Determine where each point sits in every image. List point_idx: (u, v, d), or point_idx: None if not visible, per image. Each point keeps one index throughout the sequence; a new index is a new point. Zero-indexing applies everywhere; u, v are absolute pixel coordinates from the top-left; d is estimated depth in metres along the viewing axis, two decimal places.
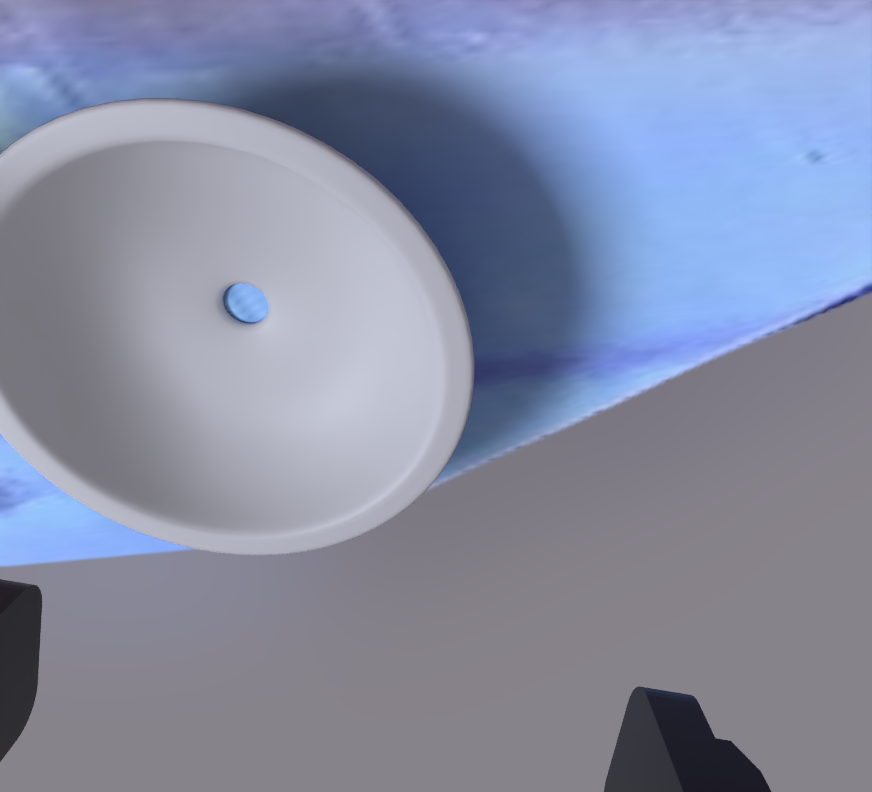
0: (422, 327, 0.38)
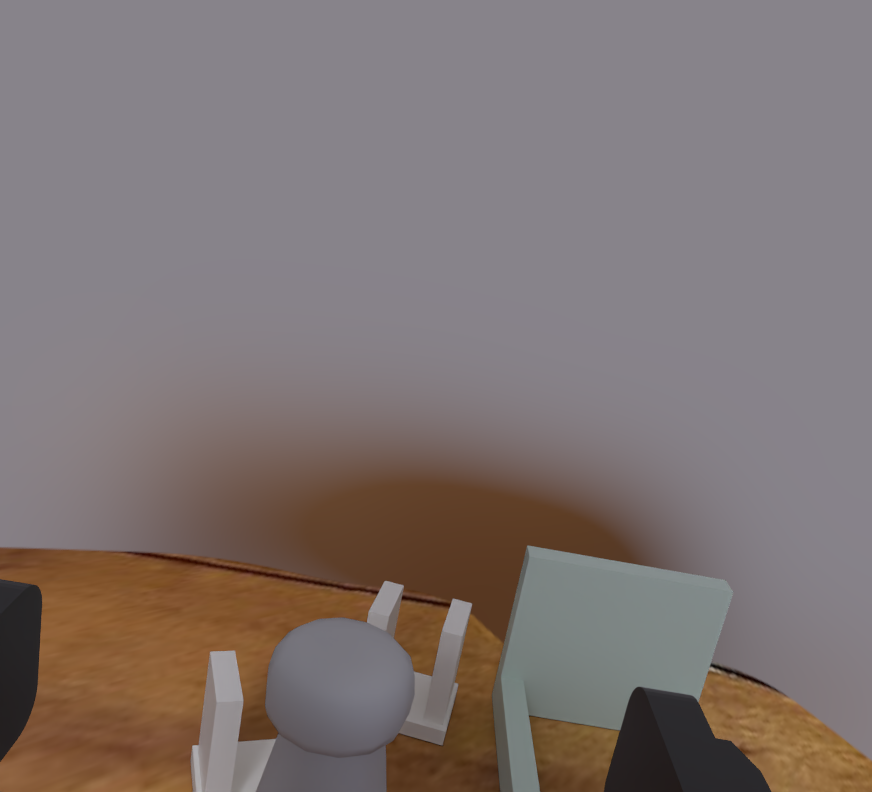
0: None
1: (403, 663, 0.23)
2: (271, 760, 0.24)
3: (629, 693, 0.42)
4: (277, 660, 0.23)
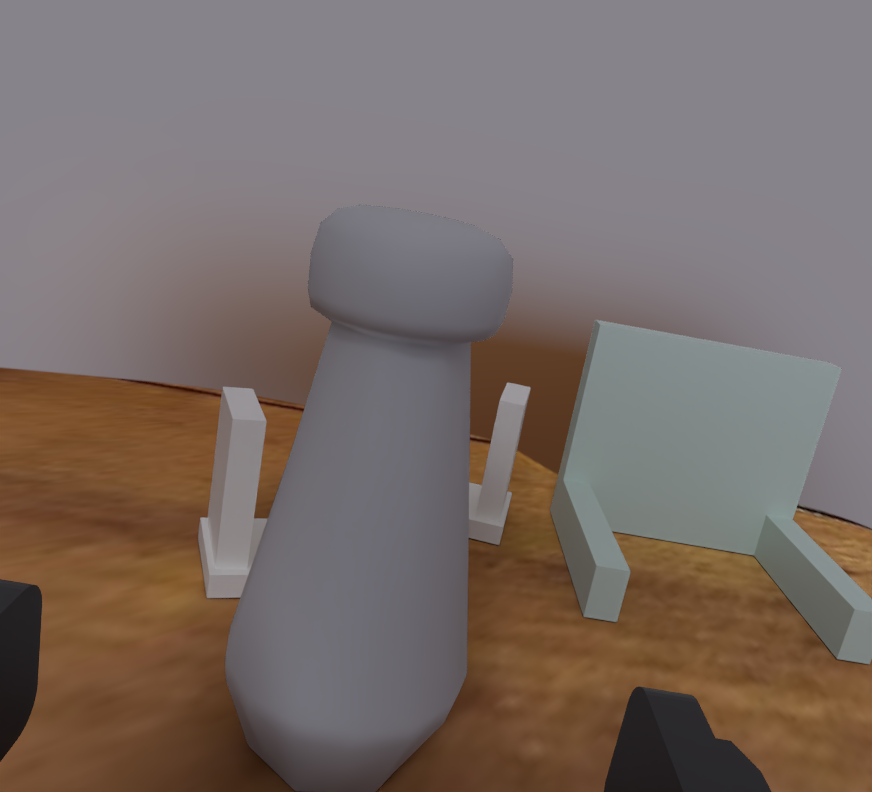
0: None
1: (498, 239, 0.17)
2: (315, 380, 0.17)
3: (714, 499, 0.36)
4: (326, 222, 0.16)
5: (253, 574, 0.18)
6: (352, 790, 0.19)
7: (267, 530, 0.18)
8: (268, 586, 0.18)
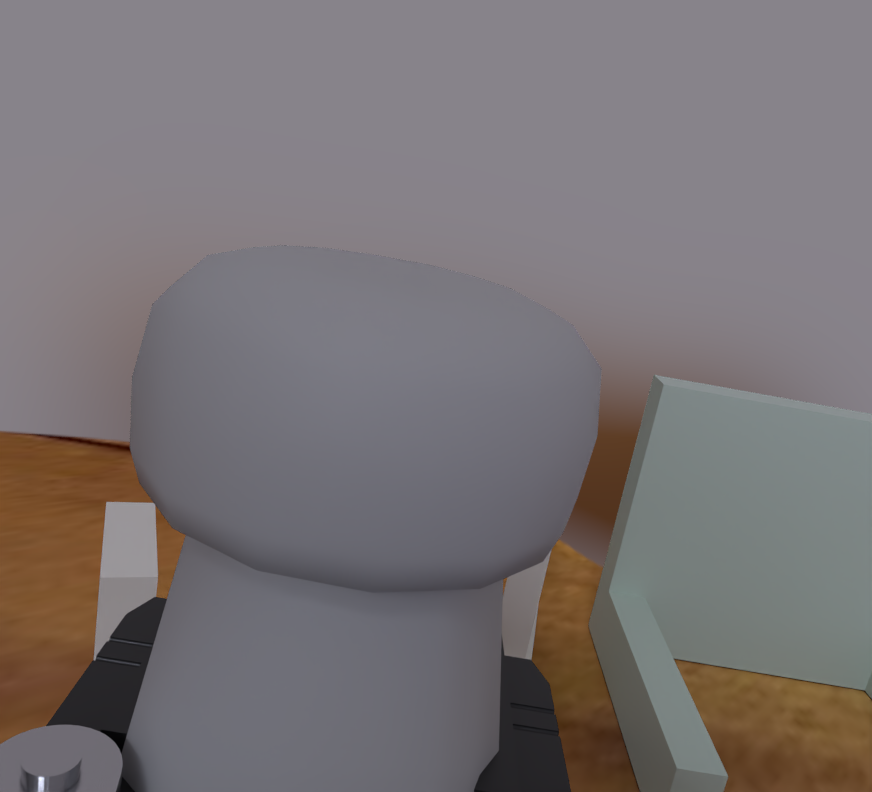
0: None
1: (569, 324, 0.07)
2: (160, 636, 0.08)
3: (814, 618, 0.26)
4: (167, 290, 0.07)
5: None
6: None
7: None
8: None
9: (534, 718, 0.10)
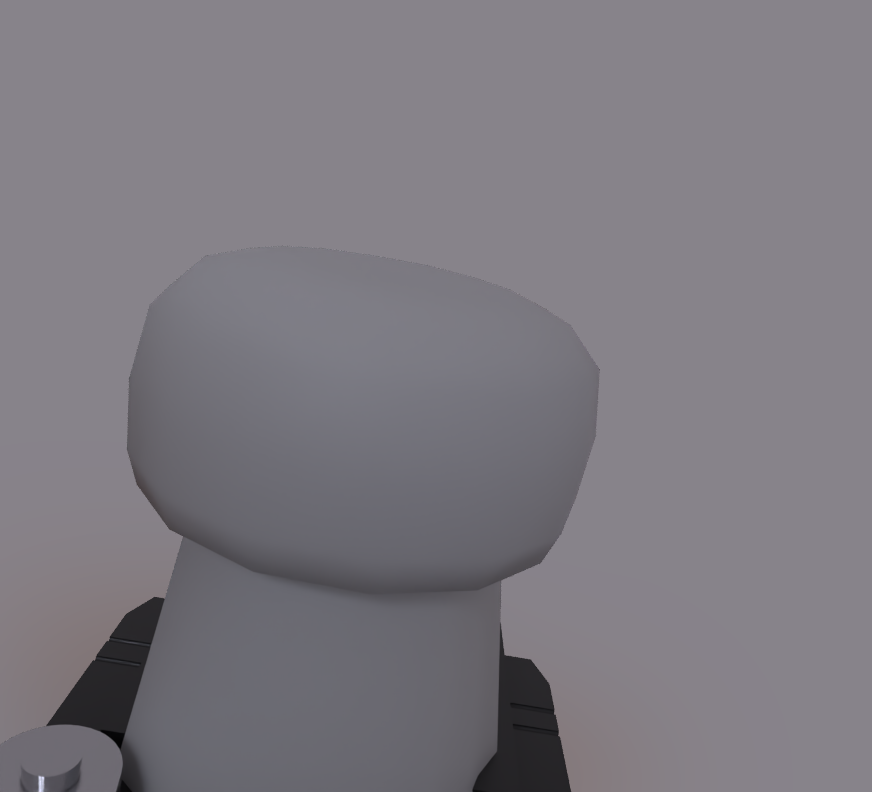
0: None
1: (568, 325, 0.07)
2: (158, 637, 0.08)
3: None
4: (165, 291, 0.07)
5: None
6: None
7: None
8: None
9: (534, 718, 0.10)
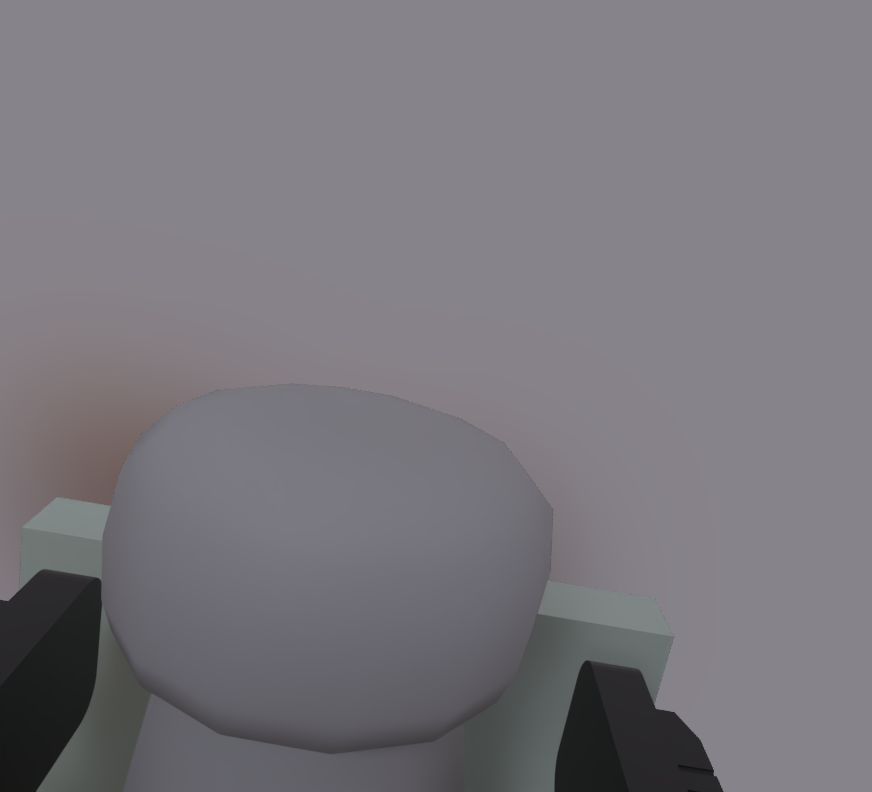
0: None
1: (521, 470, 0.08)
2: (133, 769, 0.08)
3: None
4: (136, 451, 0.07)
5: None
6: None
7: None
8: None
9: (696, 780, 0.09)
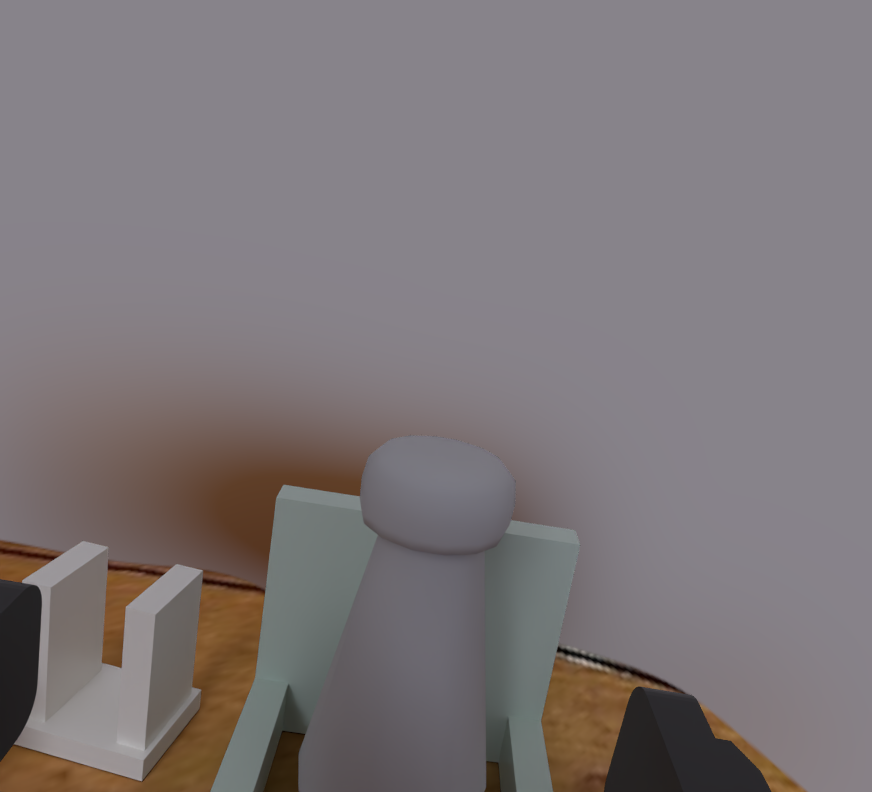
0: None
1: (504, 467, 0.22)
2: (367, 575, 0.23)
3: None
4: (374, 462, 0.22)
5: (320, 719, 0.23)
6: None
7: (331, 686, 0.23)
8: (333, 731, 0.23)
9: None
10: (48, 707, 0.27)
